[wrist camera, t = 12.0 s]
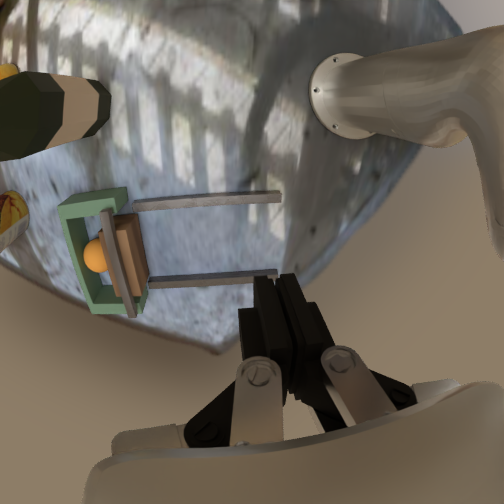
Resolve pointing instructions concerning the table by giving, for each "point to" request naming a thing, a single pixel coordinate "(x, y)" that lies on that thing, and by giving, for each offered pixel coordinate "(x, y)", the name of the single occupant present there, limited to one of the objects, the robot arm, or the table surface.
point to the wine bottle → (48, 112)
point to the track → (200, 201)
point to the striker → (124, 256)
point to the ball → (95, 256)
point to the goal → (76, 238)
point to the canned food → (12, 217)
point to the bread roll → (7, 70)
